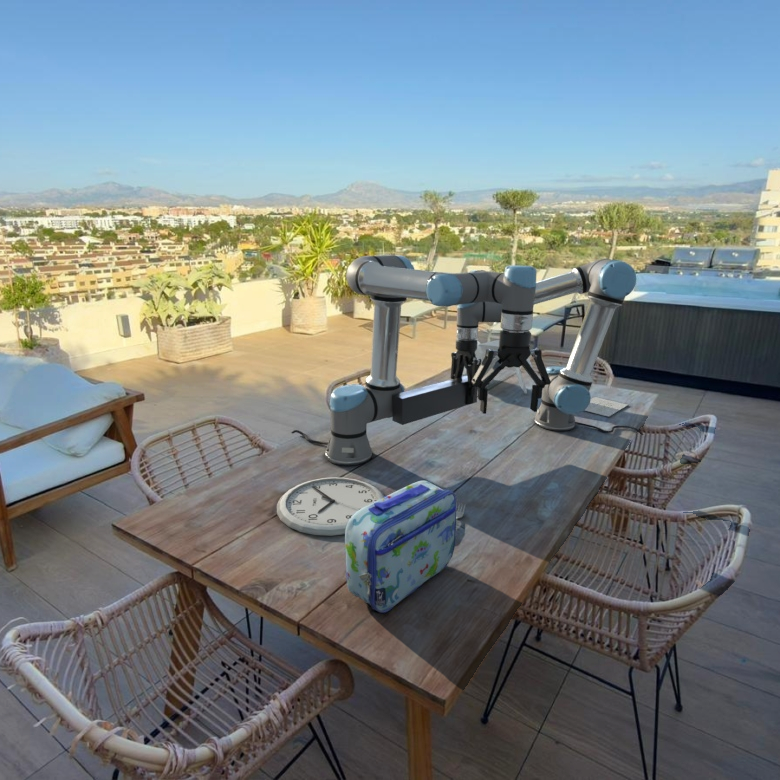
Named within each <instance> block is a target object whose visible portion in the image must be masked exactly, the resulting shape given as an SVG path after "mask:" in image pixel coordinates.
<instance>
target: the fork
mask: <svg viewBox="0 0 780 780" xmlns="http://www.w3.org/2000/svg"><path fill="white" fill-rule="evenodd" d="M463 504H464V503H459V502H457V501H456V520H458V519H461V518H463V517H464V515H465V514H464V513H465V508H466V504H464V506H463Z"/></svg>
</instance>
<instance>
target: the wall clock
mask: <svg viewBox="0 0 780 780" xmlns="http://www.w3.org/2000/svg"><path fill="white" fill-rule="evenodd" d="M384 497H386V495H385V494H384V493H383V492H382V491H381V490H380V489H379V488H377V487H376V486H374V485H372V484H371V483H369V482H365V481H362V480H359V479H355V478H349V477H338V476H337V477H335V476H333V477H332V476H331V477H322V478H317V479H312V480H307V481H305V482H302V483H299V484H297V485H295V486H293V487H292V488H290V489H288V490H287V491H286V492H285V493H284V494H283V495H281V496H280V498H279V499H278V502H277V503H276V515H277V517H278V518H279V520H280V521H281V522H282V523H283V524H285V525H286V526H287V527H288V528H290V529H293V530H295V531H297V532H299V533H303V534H308V535H312V536H327V537H328V536H329V537H331V536H332V537H333V536H342V535H345V531H346V527H347V524H348V522H349V520H350V518H351V517H352V515H353V514H354V513H355V512H357V511H358V510H360V509H362V508H364V507H366V506H368V505H370V504H372V503H374V502H376V501H378V500H380V499H382V498H384Z"/></svg>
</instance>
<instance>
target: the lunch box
mask: <svg viewBox="0 0 780 780" xmlns="http://www.w3.org/2000/svg"><path fill="white" fill-rule="evenodd" d="M456 505H457V499H456V495H455V493H454V492H453V490H450V489H442V488H440V487H439V486H437V485H435V484H433V483H432V482H430V481H428V480H418V481H416V482H413V483H410V484H409V485H406V486H405V487H402V488H400V489H398V490H396V491H394V492H392V493H390V494H388V495H385V497H384V498H382V499H380V500H378V501H376V502H374V503H372V504H370V505H368V506H366V507H364V508H362V509H360V510H358V511H357V512H355V513H354V514H353V515H352V517H351V518H350V520H349V522H348V524H347V527H346V531H345V534H344V552H345V577H346V578H345V580H346V586H347V589H348V592H349V593H350V594H352V595H354V596H356V597H357V598H359V599H361V600H363V602H365V603H367V604H368V605H370V607H371V608H372V609H373V610H375V611H376V612H378V613H380V614H382V613H383V614H385V613H387V612H389V611H391V609H393V608H394V607H395V606H396V605H397V604H400V602H401V601H402V600H404V599H406V597H409V596H410V595H411V594H412V593H414V592H415V591H416V590H417V589H418V588H420V587H421V586H422V585H423V584H424V583H425V582H427V581H428V580H430V579H432V578H433V577H434V576H436V575H437V574H439V573H441V572H442V571H443V570H445V568H446V567H447V566H448V564H449V563H450V561H451V560H452V557H453V554H454V551H455V548H456V547H455V546H456V531H457V519H456V512H457V508H456Z"/></svg>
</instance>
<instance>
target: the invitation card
mask: <svg viewBox="0 0 780 780" xmlns="http://www.w3.org/2000/svg"><path fill="white" fill-rule="evenodd" d="M628 406H629V404H627V403H623V402H618V401H614V400H609V399H605V398H601V397H596V396H593V397H592V398H591V400H590V404H589V405H588V407H587V408H586V409H585V410H584V411H583V412H587V413H593V414H596V415H600V416H604V417H608V418H609V417H611V416H613V415H614V414H616V413H617V412H619V411H621V410H623V409H624V408H626V407H628Z"/></svg>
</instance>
